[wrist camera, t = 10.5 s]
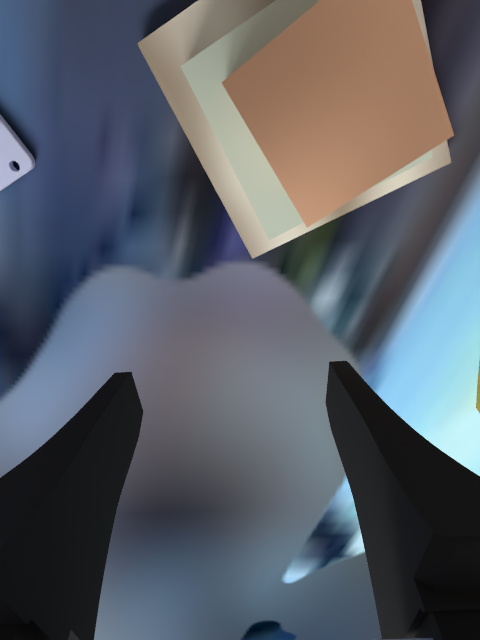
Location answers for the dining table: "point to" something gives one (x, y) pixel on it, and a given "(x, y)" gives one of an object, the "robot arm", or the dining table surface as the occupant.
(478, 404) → the cereal box
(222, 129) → the sage green slab
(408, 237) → the dining table surface
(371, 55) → the terracotta cube
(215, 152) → the ash base slab
